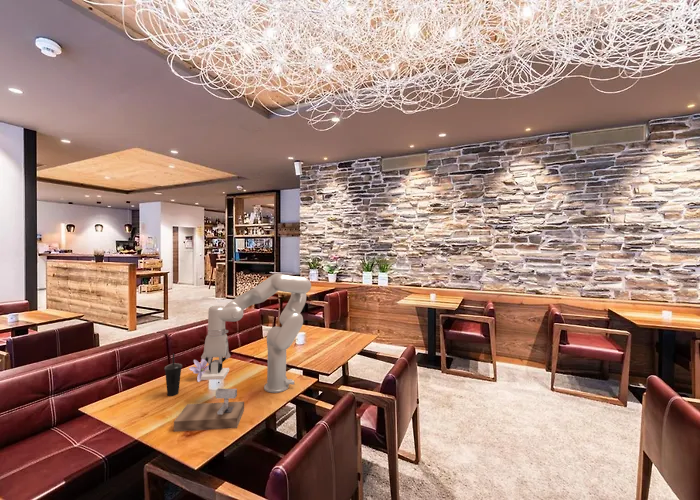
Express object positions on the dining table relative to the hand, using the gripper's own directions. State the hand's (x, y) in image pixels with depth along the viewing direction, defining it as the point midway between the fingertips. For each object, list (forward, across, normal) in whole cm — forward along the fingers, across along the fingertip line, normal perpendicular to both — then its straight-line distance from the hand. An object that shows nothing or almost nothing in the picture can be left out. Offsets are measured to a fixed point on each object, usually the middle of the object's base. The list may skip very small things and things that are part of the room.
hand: (215, 371), depth 148 cm
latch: (+10, -9, +20) cm, 24 cm away
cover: (+2, 0, 0) cm, 2 cm away
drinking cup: (+15, +23, -10) cm, 29 cm away
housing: (+14, -3, +17) cm, 22 cm away
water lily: (+15, +15, -29) cm, 35 cm away
